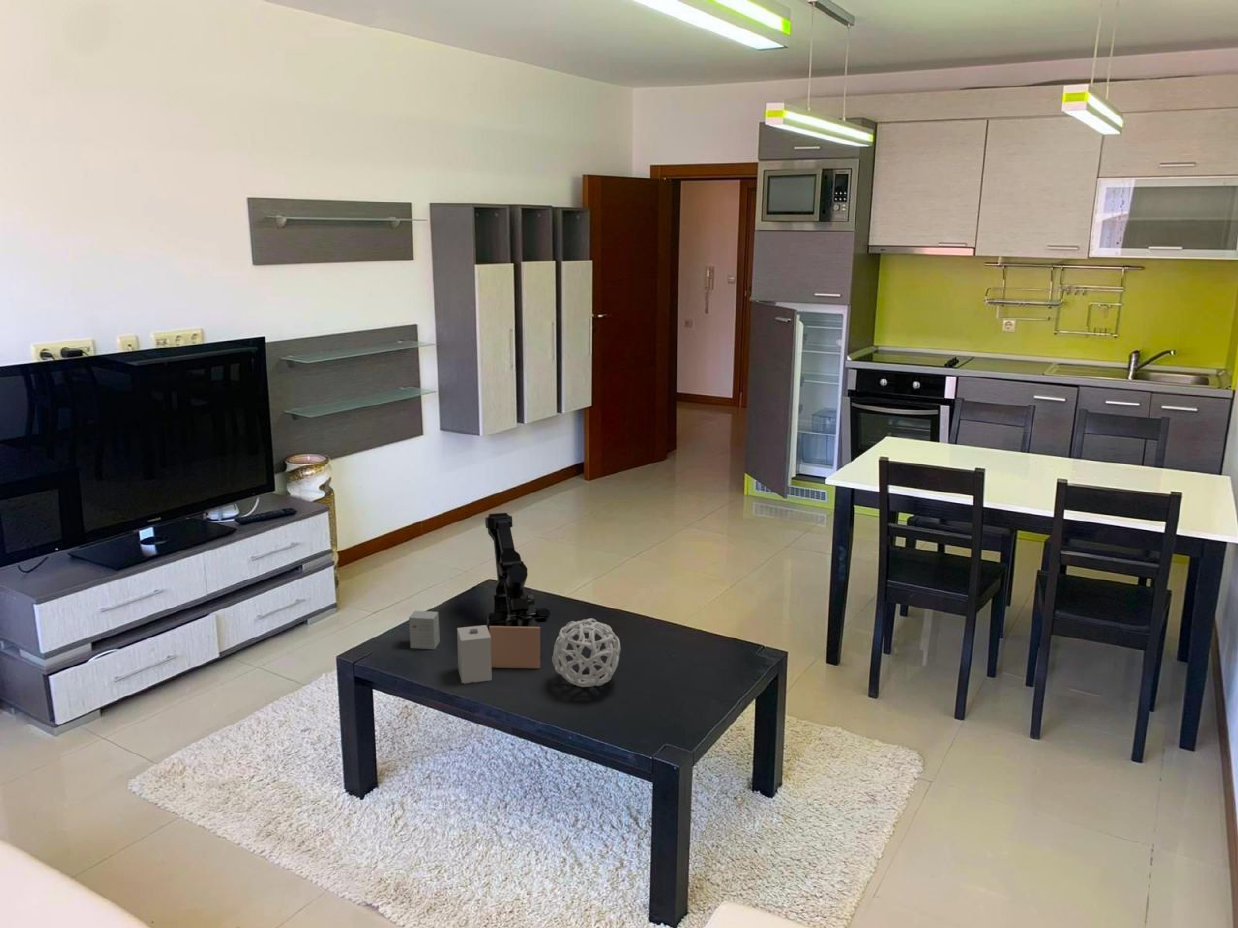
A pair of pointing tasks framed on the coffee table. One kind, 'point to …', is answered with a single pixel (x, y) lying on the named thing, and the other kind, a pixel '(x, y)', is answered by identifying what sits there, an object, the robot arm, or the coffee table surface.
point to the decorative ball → (588, 662)
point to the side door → (515, 646)
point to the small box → (424, 629)
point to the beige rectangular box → (474, 654)
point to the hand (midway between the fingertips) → (522, 644)
